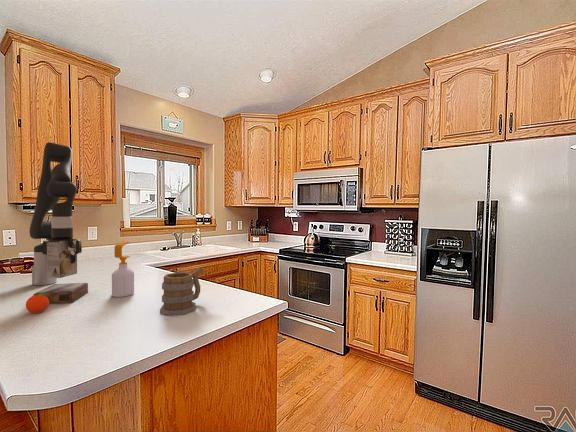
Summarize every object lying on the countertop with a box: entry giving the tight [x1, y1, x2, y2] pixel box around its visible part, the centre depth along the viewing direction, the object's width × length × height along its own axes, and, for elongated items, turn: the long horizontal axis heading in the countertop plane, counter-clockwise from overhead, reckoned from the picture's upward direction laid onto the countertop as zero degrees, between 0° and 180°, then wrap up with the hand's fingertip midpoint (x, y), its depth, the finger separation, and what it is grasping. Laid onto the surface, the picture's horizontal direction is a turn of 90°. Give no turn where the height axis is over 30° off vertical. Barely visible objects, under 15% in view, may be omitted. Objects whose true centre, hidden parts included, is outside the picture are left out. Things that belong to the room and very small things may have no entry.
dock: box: [32, 282, 89, 305], centre depth 130 cm, size 14×17×5 cm
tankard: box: [159, 267, 205, 317], centre depth 119 cm, size 20×13×15 cm, turn 148°
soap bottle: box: [111, 241, 135, 298], centre depth 137 cm, size 9×9×25 cm
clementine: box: [25, 294, 50, 314], centre depth 113 cm, size 8×7×7 cm
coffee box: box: [47, 238, 78, 279], centre depth 130 cm, size 9×6×16 cm
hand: (62, 263), depth 130 cm, fingers closed on coffee box, 8 cm apart
